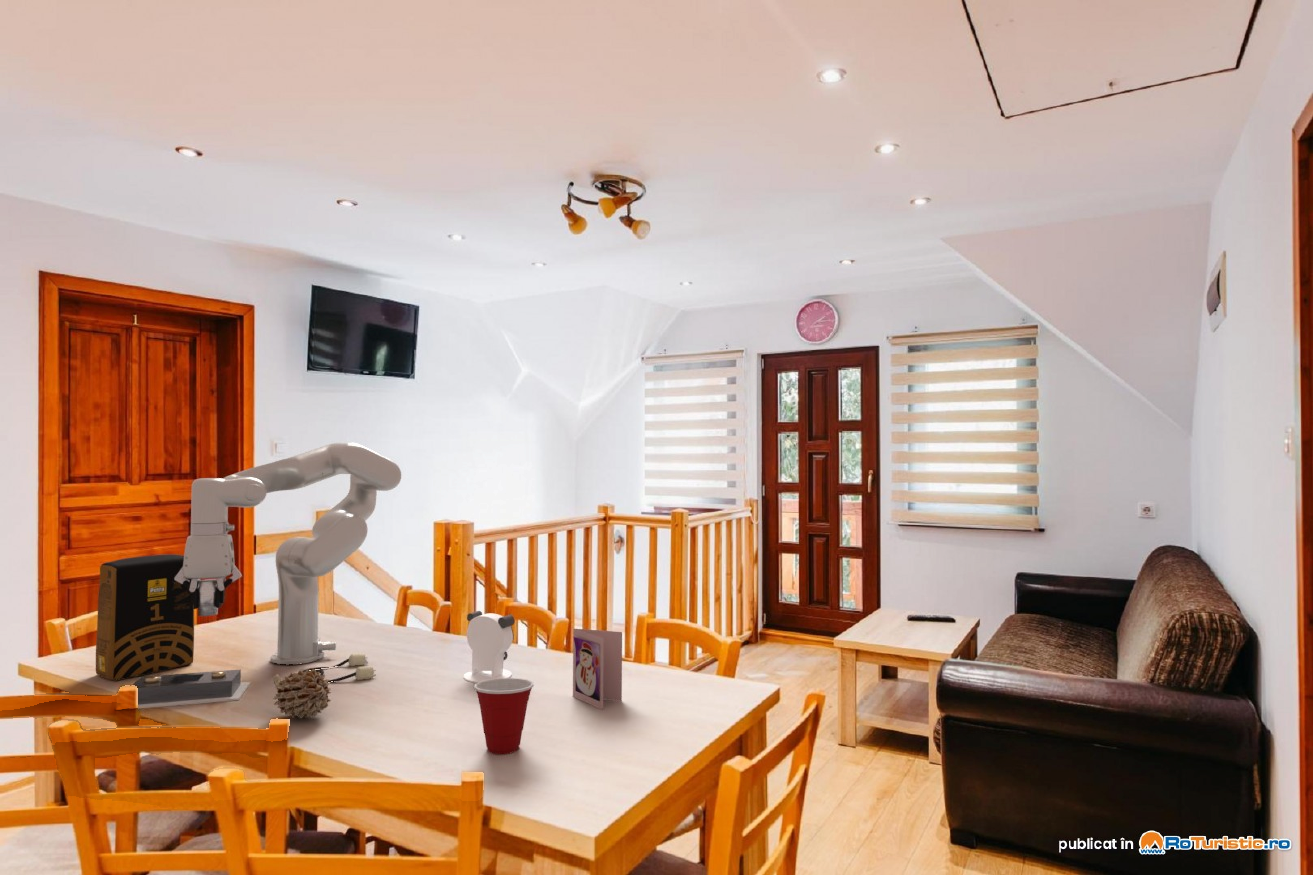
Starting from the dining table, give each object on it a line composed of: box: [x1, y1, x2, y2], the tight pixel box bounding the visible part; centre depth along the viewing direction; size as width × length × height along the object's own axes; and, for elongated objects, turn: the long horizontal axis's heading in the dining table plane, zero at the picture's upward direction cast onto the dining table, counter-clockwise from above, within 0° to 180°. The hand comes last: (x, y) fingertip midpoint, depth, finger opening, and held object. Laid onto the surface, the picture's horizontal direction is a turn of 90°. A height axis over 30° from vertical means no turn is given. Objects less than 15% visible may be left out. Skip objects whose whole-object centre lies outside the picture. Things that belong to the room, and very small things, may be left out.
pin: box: [197, 578, 219, 617], centre depth 178 cm, size 4×4×8 cm
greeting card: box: [572, 628, 623, 711], centre depth 164 cm, size 11×7×15 cm, turn 40°
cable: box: [302, 653, 377, 683], centre depth 182 cm, size 16×16×4 cm
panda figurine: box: [463, 610, 515, 684], centre depth 182 cm, size 12×11×15 cm
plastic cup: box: [473, 677, 535, 755], centre depth 137 cm, size 11×11×12 cm
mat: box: [137, 681, 251, 710], centre depth 165 cm, size 23×12×1 cm, turn 108°
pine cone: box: [272, 669, 333, 719], centre depth 154 cm, size 22×10×10 cm, turn 53°
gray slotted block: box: [131, 668, 242, 705], centre depth 165 cm, size 20×9×4 cm, turn 108°
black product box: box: [95, 553, 195, 682], centre depth 185 cm, size 11×19×28 cm, turn 147°
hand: (208, 606), depth 178 cm, fingers closed on pin, 4 cm apart
